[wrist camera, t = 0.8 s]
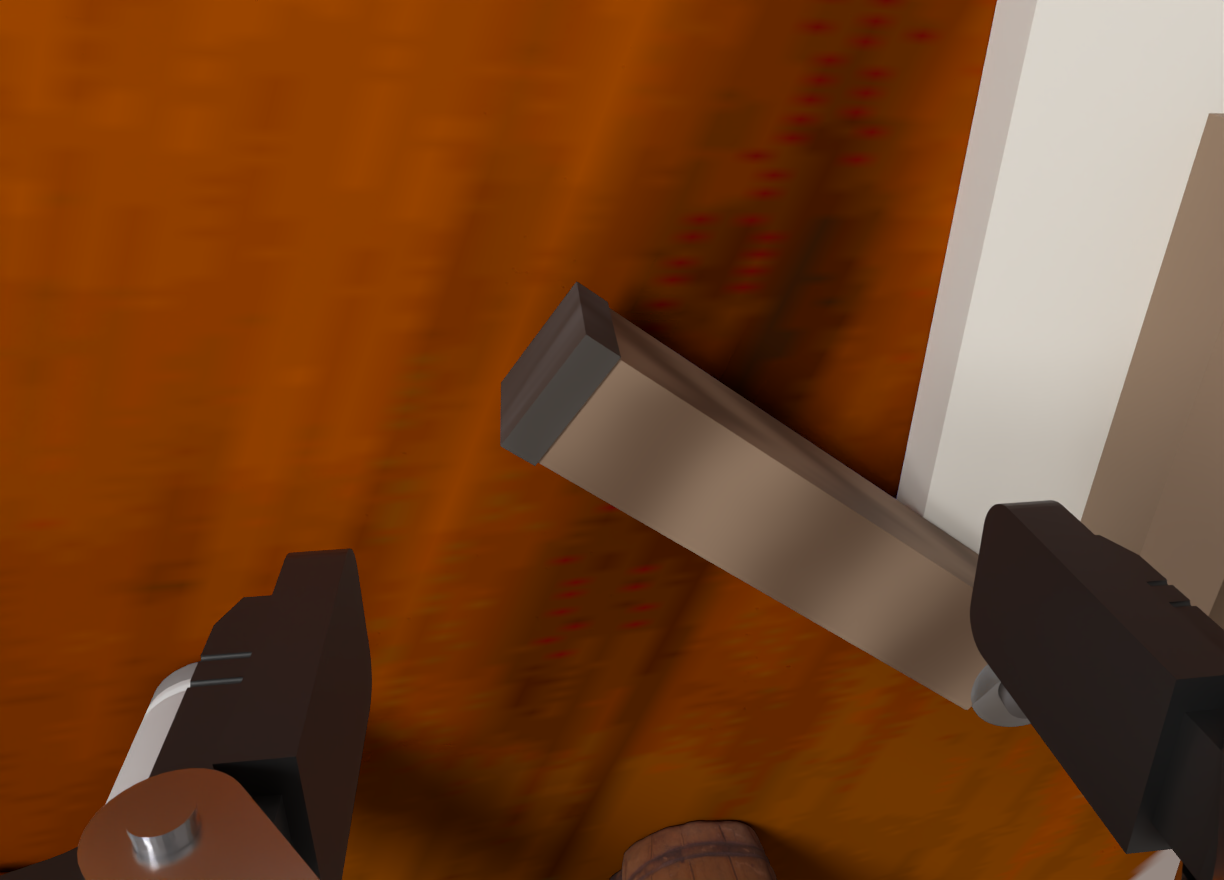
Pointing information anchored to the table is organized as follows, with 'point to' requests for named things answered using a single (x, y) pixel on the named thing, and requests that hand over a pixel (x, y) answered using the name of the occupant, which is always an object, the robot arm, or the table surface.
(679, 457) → the hinged leg
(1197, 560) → the slatted block on base
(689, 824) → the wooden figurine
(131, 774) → the travel mug
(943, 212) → the table surface
